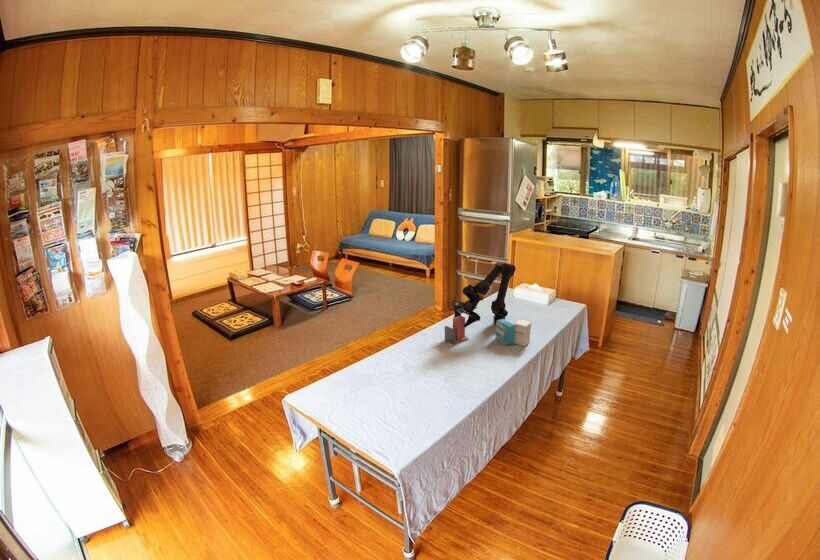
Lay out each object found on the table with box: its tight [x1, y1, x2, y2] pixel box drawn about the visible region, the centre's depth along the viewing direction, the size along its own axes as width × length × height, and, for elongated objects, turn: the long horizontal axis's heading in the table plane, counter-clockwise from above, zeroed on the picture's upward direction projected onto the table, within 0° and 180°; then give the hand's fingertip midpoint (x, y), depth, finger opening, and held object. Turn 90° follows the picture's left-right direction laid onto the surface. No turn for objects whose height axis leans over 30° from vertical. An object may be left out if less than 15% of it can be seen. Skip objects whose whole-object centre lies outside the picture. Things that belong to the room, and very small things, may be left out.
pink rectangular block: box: [452, 315, 466, 340], centre depth 249 cm, size 6×4×12 cm, turn 126°
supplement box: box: [513, 319, 532, 347], centre depth 243 cm, size 7×7×13 cm
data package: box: [495, 318, 515, 346], centre depth 245 cm, size 12×4×12 cm, turn 26°
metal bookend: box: [444, 325, 457, 346], centre depth 246 cm, size 2×8×9 cm, turn 36°
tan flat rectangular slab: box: [456, 335, 469, 345], centre depth 251 cm, size 10×8×1 cm
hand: (458, 324), depth 248 cm, fingers open, 9 cm apart
